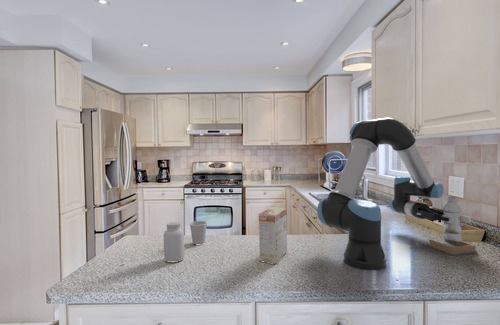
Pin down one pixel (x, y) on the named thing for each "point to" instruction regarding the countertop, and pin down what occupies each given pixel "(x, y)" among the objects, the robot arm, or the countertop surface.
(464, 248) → the tray
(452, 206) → the silver metal bottle
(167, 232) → the pill bottle
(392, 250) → the countertop surface
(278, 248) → the coffeecake box
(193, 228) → the dixie cup
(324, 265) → the countertop surface
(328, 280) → the countertop surface
